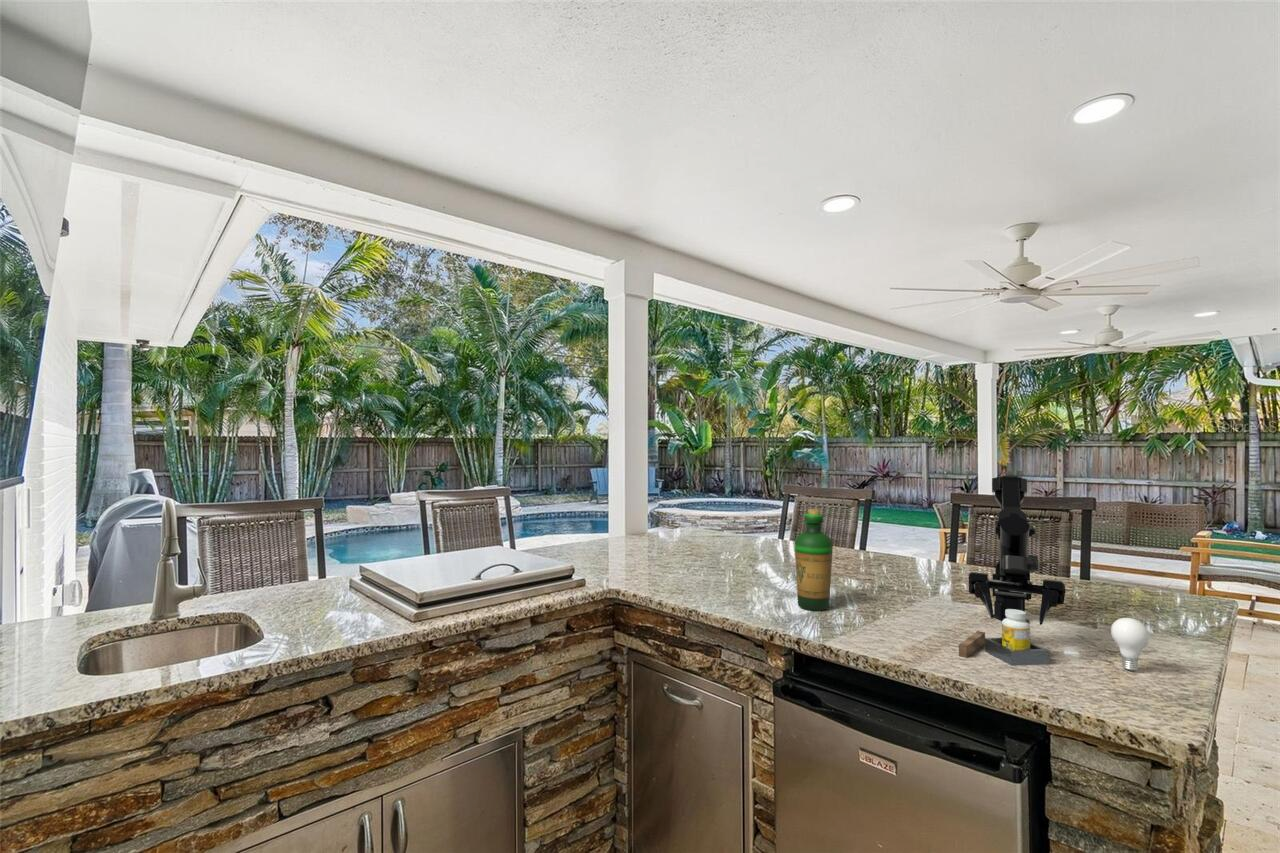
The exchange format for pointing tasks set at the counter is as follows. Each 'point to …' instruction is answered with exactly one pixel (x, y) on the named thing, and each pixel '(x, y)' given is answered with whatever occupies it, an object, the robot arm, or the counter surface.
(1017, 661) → the metal pocket
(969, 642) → the brown wooden bar
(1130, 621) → the lightbulb
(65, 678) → the counter surface
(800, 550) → the bottle
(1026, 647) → the supplement bottle
